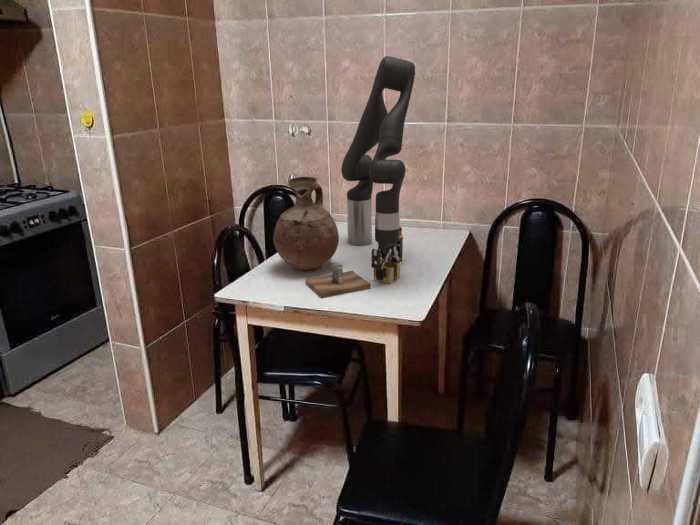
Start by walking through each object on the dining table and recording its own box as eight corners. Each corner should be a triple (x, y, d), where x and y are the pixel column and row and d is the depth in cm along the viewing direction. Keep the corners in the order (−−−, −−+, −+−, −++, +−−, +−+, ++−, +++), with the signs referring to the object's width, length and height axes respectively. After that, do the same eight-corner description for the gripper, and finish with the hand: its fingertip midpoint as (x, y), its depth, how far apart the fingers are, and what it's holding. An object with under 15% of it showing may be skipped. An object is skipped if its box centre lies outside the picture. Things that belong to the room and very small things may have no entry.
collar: (373, 280, 167) (373, 265, 165) (383, 274, 172) (383, 260, 170) (390, 284, 164) (390, 268, 162) (400, 278, 168) (400, 263, 167)
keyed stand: (305, 283, 166) (304, 263, 163) (352, 275, 172) (352, 255, 170) (321, 297, 154) (320, 276, 152) (370, 288, 161) (370, 268, 158)
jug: (263, 274, 174) (256, 183, 164) (292, 254, 193) (288, 171, 183) (325, 281, 167) (321, 186, 157) (348, 260, 186) (347, 174, 176)
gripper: (385, 233, 154) (385, 285, 160) (409, 222, 165) (408, 271, 171) (363, 229, 159) (364, 280, 164) (388, 219, 169) (388, 267, 175)
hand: (387, 275), depth 167 cm, fingers open, 8 cm apart
